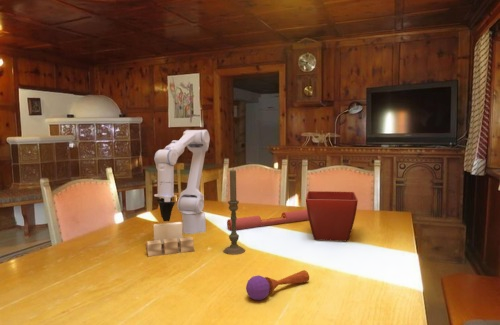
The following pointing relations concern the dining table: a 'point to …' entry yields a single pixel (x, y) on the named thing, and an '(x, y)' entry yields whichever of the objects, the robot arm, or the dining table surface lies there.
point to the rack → (163, 250)
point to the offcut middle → (170, 246)
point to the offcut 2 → (186, 244)
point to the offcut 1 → (154, 247)
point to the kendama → (271, 284)
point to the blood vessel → (268, 220)
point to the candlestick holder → (233, 218)
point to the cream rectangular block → (168, 231)
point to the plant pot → (331, 214)
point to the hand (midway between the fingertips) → (165, 219)
